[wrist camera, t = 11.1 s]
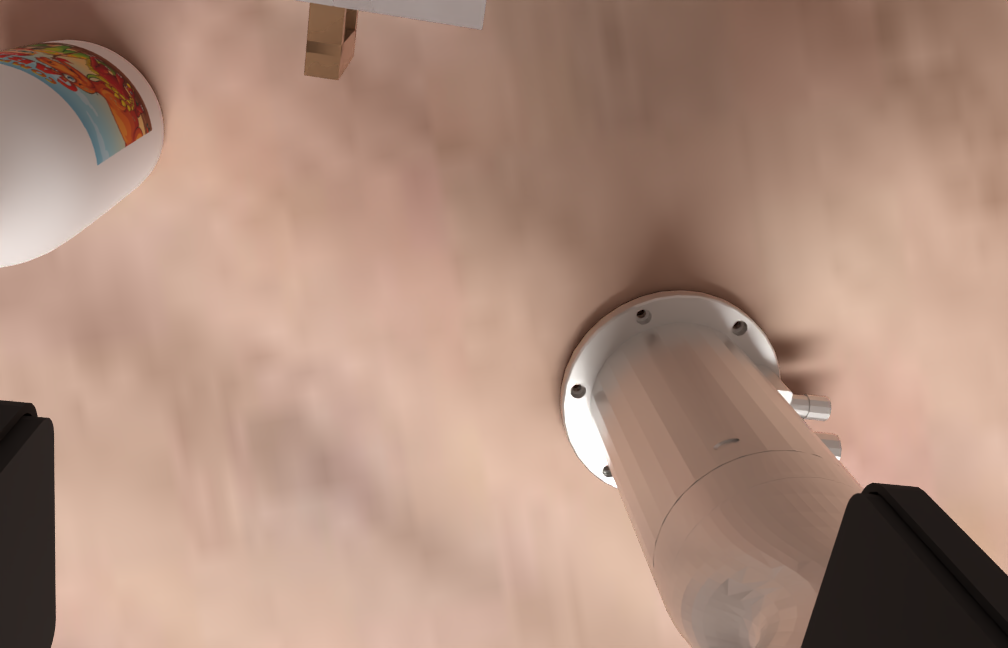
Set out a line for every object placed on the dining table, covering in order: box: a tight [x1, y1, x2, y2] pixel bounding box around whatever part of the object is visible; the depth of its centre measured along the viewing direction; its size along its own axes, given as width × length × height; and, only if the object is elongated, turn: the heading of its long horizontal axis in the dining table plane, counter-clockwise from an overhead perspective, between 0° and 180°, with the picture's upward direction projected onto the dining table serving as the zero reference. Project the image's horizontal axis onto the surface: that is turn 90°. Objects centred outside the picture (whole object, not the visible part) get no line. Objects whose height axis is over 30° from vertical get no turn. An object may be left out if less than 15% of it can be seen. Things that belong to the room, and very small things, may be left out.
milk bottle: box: [0, 40, 164, 268], centre depth 36 cm, size 8×8×20 cm
